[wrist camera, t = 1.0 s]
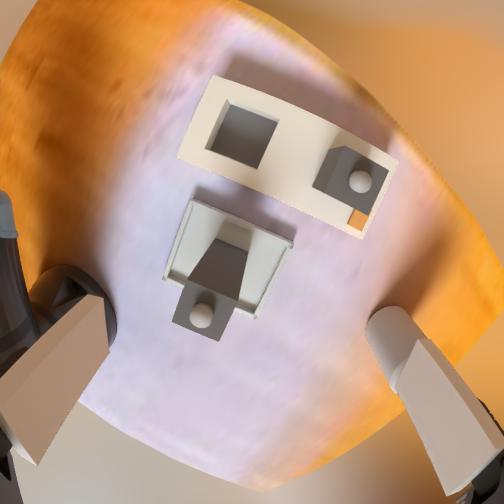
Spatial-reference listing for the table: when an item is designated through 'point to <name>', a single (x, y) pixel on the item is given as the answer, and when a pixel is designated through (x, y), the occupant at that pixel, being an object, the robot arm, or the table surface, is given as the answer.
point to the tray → (237, 234)
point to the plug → (212, 290)
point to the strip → (288, 155)
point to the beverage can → (392, 340)
